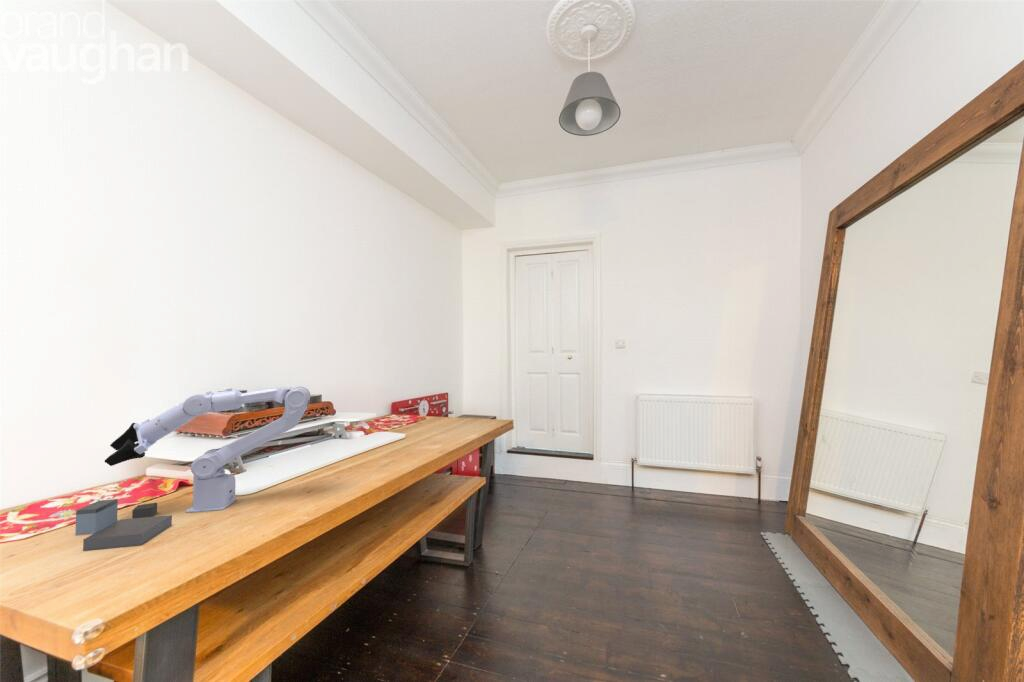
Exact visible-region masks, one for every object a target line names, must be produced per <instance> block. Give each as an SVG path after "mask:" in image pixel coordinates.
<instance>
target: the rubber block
mask: <svg viewBox="0 0 1024 682" xmlns="http://www.w3.org/2000/svg"><path fill="white" fill-rule="evenodd" d="M156 514H158V502H152V503H143V504H138V505H137V506H135V507H133V509H132V513H131V516H132V517H131V519H133V518H145V517H156Z"/></svg>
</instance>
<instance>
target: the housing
mask: <svg viewBox="0 0 1024 682" xmlns="http://www.w3.org/2000/svg"><path fill="white" fill-rule="evenodd" d="M118 502H119V499H118V498H115V499H114V498H113V499H101V500H97V501H94V502H93V503H91V504H88V505H86V506H83V507H82V508H79V509H77V510H76V511H75V536H83V535H92V534H94V533H96V532H98V531H100V530H102V529H104V528H106V527H108V526H109V525H111V524H113V523H115V522H117V521H118Z"/></svg>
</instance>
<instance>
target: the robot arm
mask: <svg viewBox="0 0 1024 682" xmlns="http://www.w3.org/2000/svg"><path fill="white" fill-rule="evenodd" d="M268 401H275V402H277V403H280V404H283V403H284V410H283V413H282V416H281V417H279V418H277V419H275V420H274V421H272V422H269V423H267V424H266V425H264V426H261V427H259V428H258V429H256V430H254V431H251V432H250V433H248V434H246V435H244V436H241V437H240V438H238V439H236V440H235V441H231V443H228V444H226V445H223V446H222V447H218V448H211V449H209V450H207V451H206V452H204V453H203V454H202V455H200V456H198V457H196V458H195V459H194V460H193V461H192V462H191V464H190V472H191V474H192V475H193V478H192V479H193V481H192V482H193V483H192V484H193V487H192V498H193V499H192V506H191V507H189V508H188V509H186V510H185V513H186V514H188V513H201V512H211V511H223V510H225V509H226V508H228V507H229V506H230V505H232V504H233V503H234V502H235V501H237V498H236V476H235V475H234V474H232V473H226V471H225V469H224V466H225V465H227V464H228V463H230V462H233V460H235V459H237V458H238V457H240V456H241V457H242V456H243V455H245V454H246V453H248V452H250V451H252V450H254V449H256V448H258V447H260V446H262V445H263V444H265V443H267V442H269V441H271V440H273V439H275V438H277V437H278V436H280V435H282V434H284V433H286V432H288V431H290V430H292V429H294V428H295V427H297V426H298V425H299V423H300V422H301V419H302V417H303V415H304V414H305V412H306V410H307V409H308V408H309V406H310V401H311V391H310V390H309V389H308V388H307V387H304V386H295V387H292V386H286V387H285V386H284V387H283V386H281V387H274V388H267V389H261V390H254V391H248V392H242V391H240V390H238V389H233V388H230V387H229V388H226V389H225V390H224V391H223V390H222V391H216V392H212V390H211V391H207V392H206V393H199V394H195V395H191V396H189V397H188V398H187V399H185V400H184V401H183V402H181V403H179V404H178V405H175V406H172V407H170V408H169V409H167V410H166V411H164V412H162V413H160V414H159V415H157V416H156V417H153V418H152V419H148V418H147V419H145V420H143V421H142V422H141V423H138V422H132V423H131V424H130V426H129V427H128V428H127V429H126V430H125V431H124V433H122V434H121V435H120V436H119V437H117V438H116V439H115V440H114V441H113V442H111V443H110V444H109V446H110V447H111V448H113V449H114V450H115V452H113V453H111V454H110V455H109V456H108V457H107V458H106V459H104V463H105V464H107V465H109V466H110V467H112V466H115V465H117V464H118V465H119V464H121V463H124V462H126V461H129V460H134V459H141V458H142V459H143V458H144V457H145V456H146V455H145V454H146V452H147V451H148V450H149V448H150V447H151V446H153V445H154V444H157V442H158V441H159V440H161V439H163V438H165V437H166V436H168V435H170V434H171V433H173V432H174V431H177V430H178V429H180V428H182V427H184V425H185V426H186V425H187V424H188V423H190V422H191V421H192V420H193V419H195V418H197V417H200V416H203V415H204V414H207V413H209V412H210V413H218V412H219V413H220V412H225V411H232V410H239V409H240V408H241V407H242V405H244V404H251V403H258V402H259V403H260V402H268Z"/></svg>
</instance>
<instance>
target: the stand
mask: <svg viewBox="0 0 1024 682" xmlns="http://www.w3.org/2000/svg"><path fill="white" fill-rule="evenodd" d="M172 516H173V515H171V514H170V515H169V514H168V515H160V516H159V515H158V516H157V515H156V516H154V517H145V518H133V519H132V518H125V519H124V518H123V519H119V520H117V522H115V523H113V524H111V525H109V526H108V527H106V528H104V529H102V530H100V531H98V532H96V533H94V534H90V535H89V536H87V537H85V538H83V542H82V550H83V551H84V552H85V551H95V550H104V549H115V548H116V549H117V548H126V547H133V546H134V547H136V546H142V545H144V544H146V543H147V542H149V540H151V539H153V538H154V537H156V536H157V535H159V534H160V533H162V532H164V531H165V530H166V529H168V528H170V527H172V523H173V521H172V519H173V517H172Z"/></svg>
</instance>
